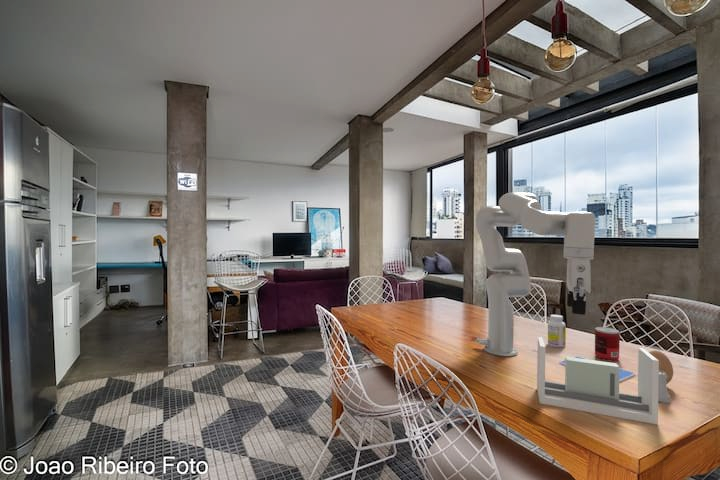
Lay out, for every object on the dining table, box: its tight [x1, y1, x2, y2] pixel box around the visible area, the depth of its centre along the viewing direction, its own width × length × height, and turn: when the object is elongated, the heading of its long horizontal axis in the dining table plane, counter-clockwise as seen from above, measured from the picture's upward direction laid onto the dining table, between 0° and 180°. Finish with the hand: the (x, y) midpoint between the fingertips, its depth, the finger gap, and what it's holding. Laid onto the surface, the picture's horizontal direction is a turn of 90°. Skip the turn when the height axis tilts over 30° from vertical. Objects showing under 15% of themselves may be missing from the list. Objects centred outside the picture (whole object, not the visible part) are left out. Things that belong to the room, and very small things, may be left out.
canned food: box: [594, 326, 621, 362], centre depth 131 cm, size 8×8×11 cm
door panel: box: [564, 356, 620, 400], centre depth 94 cm, size 12×3×10 cm, turn 66°
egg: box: [648, 350, 674, 385], centre depth 107 cm, size 8×8×11 cm
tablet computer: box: [559, 356, 636, 383], centre depth 119 cm, size 19×13×1 cm, turn 30°
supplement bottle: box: [547, 314, 567, 348], centre depth 146 cm, size 7×7×13 cm
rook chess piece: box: [658, 371, 672, 404], centre depth 97 cm, size 4×4×8 cm
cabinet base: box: [536, 336, 659, 425], centre depth 93 cm, size 26×10×16 cm, turn 66°
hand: (575, 310), depth 101 cm, fingers open, 9 cm apart
